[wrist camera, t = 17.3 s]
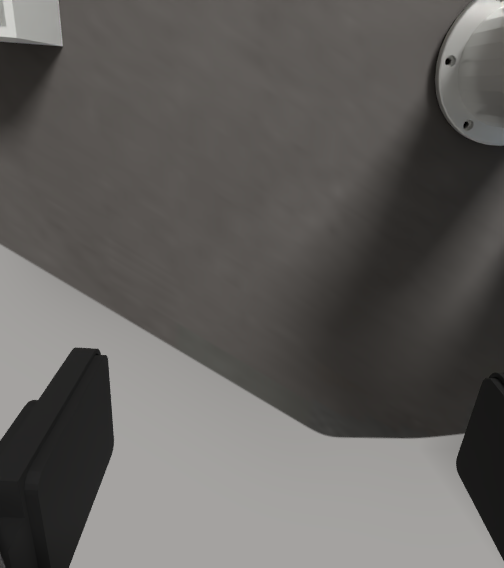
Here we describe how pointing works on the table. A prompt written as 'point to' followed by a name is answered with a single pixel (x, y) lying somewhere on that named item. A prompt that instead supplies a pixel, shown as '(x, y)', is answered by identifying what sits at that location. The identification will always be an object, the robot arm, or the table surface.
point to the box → (30, 22)
